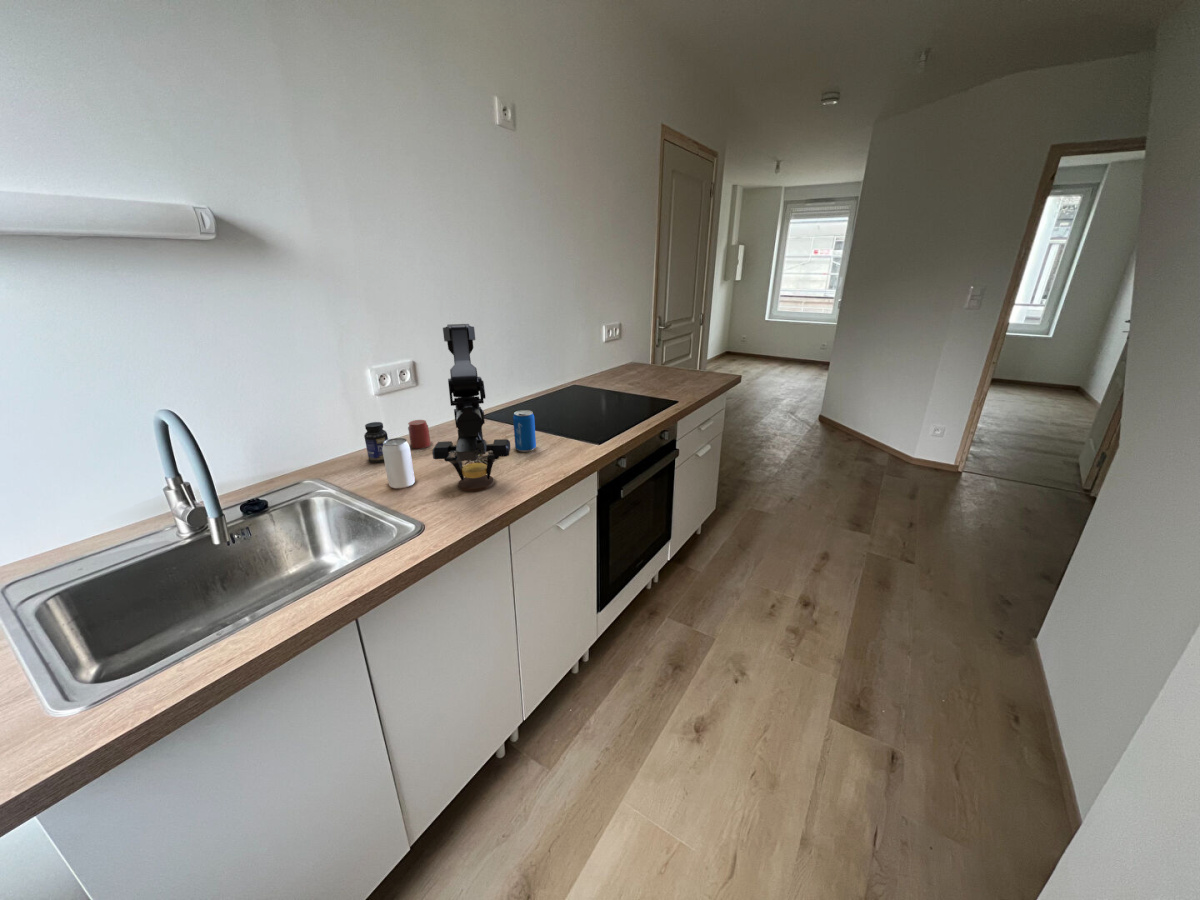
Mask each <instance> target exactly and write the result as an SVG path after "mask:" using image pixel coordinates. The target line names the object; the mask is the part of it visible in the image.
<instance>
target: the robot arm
mask: <svg viewBox="0 0 1200 900" xmlns="http://www.w3.org/2000/svg"><path fill="white" fill-rule="evenodd" d="M475 331H476V330H475V326H471V325H470V324H469V323H455V324H454V323H452V324H451V323H450V324H449V323H448V324H447V325H446V326H445V327H442V334H443V341H444V343H445V342H446V343H447V350H448V351H449V352H450V353H451V355H452V356H453V362H454V363H453V364H454V365H453V366H451V368H450V370H449V372H450V373H449V374H450V378H447V385H448V392H449V403H450V406H451V407H453V406H455V408H454V409H453V414H454V415H453V416H454V422H455V428H456V429H457V441H456V445H454V443H453V441H452V440H451V441H450V440H448V441H447V440H446V441H437V442H436V443H435V446H434V447H433V448H432V452H431V453H432V459H433V460H444V462H447V463H448V462H449V464H451V465H452V466H453V467H454V469H455V471H456V473H457V474H458V476H459V479H460V480H464V476H463V474H462V468H463V466H464V465H463V462H465V461H471V462H475V461H477V460H478V459H479V456H482V455H486V453H487V457H486V465H487V474H486V475H487V478H488V479H489V478H490V476H491V474H492V470H493V465H494V462H495V460H499V459H500V458H501V457H509V456H510V452H511V441H510V440H509V439H507V438H503V439H494V440H493V442H492V443H490V444H489V443H486V440H485V439H484V436H483V426H484V424H486V422H485V411H484V410H483V409H482V406H480V405H481V404H484V403H485V401H484V400H485V399H486V390H485V389H486V388H485V383H484V380H482V379H483V378H482V377H481V376H478V370H477V367H476V366H475V365H473V364H472V361H471V353H472V351H473V350H474V341H476V332H475Z"/></svg>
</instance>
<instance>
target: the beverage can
mask: <svg viewBox="0 0 1200 900" xmlns="http://www.w3.org/2000/svg"><path fill="white" fill-rule="evenodd" d="M512 420H513V434H514V448H515V449H516V450H517V451H518V452H521V453H528V452H533V451H534V449H536V448H537V441H536V422H535V415H534V413H533V411H532V410H529V409H526V410H525V409H523V410H522V409H521V410H517V411H515V412H514V413H513V416H512Z"/></svg>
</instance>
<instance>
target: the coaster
mask: <svg viewBox="0 0 1200 900" xmlns="http://www.w3.org/2000/svg"><path fill="white" fill-rule="evenodd" d="M494 479H495V478H494V477H492V476H491V475H490V478H489V479H488V478H487V474H486V475H485V476H482V477H479V478H467V477H464V480H461V479H460V480H459V481H458V484H457V485H458V488H459V489H460V490H461V491H465V492H470V493H471V492H472V493H473V492H480V491H485V490H487V489H490V488H491V487H492V486H493V485H494V484H495V480H494Z"/></svg>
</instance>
